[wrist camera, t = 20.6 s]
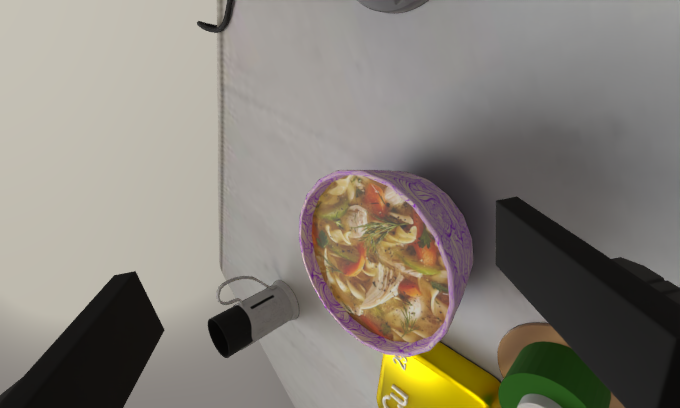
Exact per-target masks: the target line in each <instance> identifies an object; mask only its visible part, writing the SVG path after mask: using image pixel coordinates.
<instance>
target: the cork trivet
mask: <svg viewBox="0 0 680 408" xmlns="http://www.w3.org/2000/svg"><path fill="white" fill-rule="evenodd" d="M541 341H545V342H554V343H558V344H562V345H564V346H567V347H570V346H569V345H568V344H567V343H566V342H565V341H564V340H563V338H562V337H561V336H560V335H559V334H558V333H557V332H556V331H555V330H554V329H553V327H552V326H551V325H550V324H548V323H528V324H523V325H519V326H517V327H515V328H513V329H511V330H510V331H509V332H507V334H506V335H505V336H504V337H503V339H502V340H501V342H500V344H499V347H498V365H499V368H500V371H501V374H502V376H503V378H504V377H505V376H506V374H507V372H508V371H509V369H510V367H511V366H512V364H513V363H514V361H515V359H516V358H517V356H518V354H519V353H520V351H521V350H522V349H523V348H524V347H525V346H527V345H528V344H531V343H534V342H541ZM570 348H571V347H570ZM609 408H625V407H624V406H623V405H622V404H621V403H620V402H619V400H618V399H617V398H616V397H615V396H614V395H613V394H612V393H611V401H610V405H609Z"/></svg>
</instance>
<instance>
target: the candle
mask: <svg viewBox="0 0 680 408" xmlns="http://www.w3.org/2000/svg"><path fill="white" fill-rule="evenodd" d="M498 397H499V403H500V405H501V408H609V405H610V401H611V392H610V390H609V389H608V388H607V387H606V386H605V385H604V384H603V383H602V382H601V380H600V379H599V378H598V377H597V376H596V375H595V374H594V373H593V372H592V371H591V369H590V368H589V367H588V366H587V365H586V364H585V363H584V362H583V361H582V359H581V358H580V357H579V356H578V355H577V354H576V353H575V352H574V351H573V350H572V348H570V347H567V346H564V345H562V344H558V343H554V342H545V341H541V342H534V343H531V344H528V345H527V346H525V347H524V348H523V349H522V350H521V351H520V353H519V354H518V356H517V358H516V359H515V361H514V363H513V364H512V366H511V367H510V369H509V371H508V372H507V374H506V376H505V377H504V379H503V381H502V382H501V384H500V387H499V392H498Z"/></svg>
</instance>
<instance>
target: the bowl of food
mask: <svg viewBox="0 0 680 408" xmlns="http://www.w3.org/2000/svg"><path fill="white" fill-rule="evenodd" d="M299 241H300V246H301V252H302V257H303V262H304V265H305V268H306V270H307V273H308V275H309V278H310V281H311V283H312V286H313V288H314V289H315V291H316V293H317V294H318V296H319V298H320V299H321V301H322V303H323V304H324V306H325V308H326V309H327V310H328V311H329V313H330V314H331V315H332V316H333V317H334V318H335V320H336V321H337V322H338V323H339V324H340V325H341V327H342V328H343V329H345V330H346V331H347V332H348V333H350V334H351V335H352V336H354V337H355V338H356V339H357V340H359V341H360V342H361V343H362V344H364V345H366V346H368V347H371V348H373V349H375V350H377V351H379V352H381V353H384V354H387V355H395V356H403V357H411V356H414V355H417V354H420V353H424V352H427V351H430V350H431V349H432V348H433V347H434V346H435V345H436V344H437V343H438V342H439V341H440V340H441V339H442V338H443V337H444V336H445V335H446V333H447V332H448V330H449V327H450V325H451V323H452V320H453V318H454V315H455V313H456V311H457V308H458V306H459V304H460V302H461V299H462V296H463V294H464V291H465V288H466V285H467V281H468V278H469V275H470V272H471V268H472V265H473V247H472V237H471V235H470V232H469V229H468V227H467V224H466V221H465V219H464V216H463V214H462V213H461V212H460V210H459V209H458V208H457V206H456V205H455V204H454V202H453V201H452V199H451V198H450V197H449V195H448V194H446V193H445V192H444V191H442V190H441V189H440V188H439V187H437V186H436V185H435V184H433V183H432V182H431V181H429V180H427V179H425V178H422V177H419V176H417V175H414V174H411V173H408V172H401V171H378V170H338V171H335V172H333V173H331V174H329V175H327V176H325V177H323V178H321V179H319V180H318V181H317V183H316V184H315V185H314V186H313V188H312V189H311V190H310V191H309V193H308V194H307V195H306V198H305V201H304V204H303V208H302V211H301V214H300V226H299Z"/></svg>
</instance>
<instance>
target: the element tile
mask: <svg viewBox="0 0 680 408" xmlns="http://www.w3.org/2000/svg"><path fill="white" fill-rule="evenodd" d="M500 384H501V383H500V382H499V381H498V380H497V379H496V378H495V377H493V376H492V375H491V374H489V373H487V372H486V371H484V370H483V369H481V368H480V367H478V366H476V365H475V364H473V363H472V362H470V361H469V360H467V359H466V358H464V357H462V356H461V355H459V354H458V353H456V352H455V351H453V350H451V349H450V348H448V347H447V346H445V345H444V344H442V343H441V342H438V343H437V344H436V345H435V346H434V347H433V348H432V349H431V350H430V351H427V352H424V353H420V354H417V355H414V356H411V357H403V356H395V355H387V354H384V353H383V359H382V365H381V372H380V378H379V384H378V390H377V403H378V407H379V408H501V405H500V403H499V397H498V392H499V387H500Z"/></svg>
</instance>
